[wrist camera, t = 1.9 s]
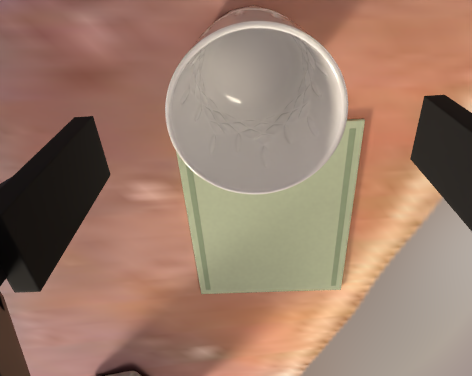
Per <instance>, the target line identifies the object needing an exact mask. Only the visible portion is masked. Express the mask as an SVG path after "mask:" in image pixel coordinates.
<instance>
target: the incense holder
mask: <svg viewBox="0 0 472 376" xmlns="http://www.w3.org/2000/svg"><path fill="white" fill-rule="evenodd" d="M107 376H141V375H140V374H139V373H138V372H135V371H127V372H122V373H118V374H112V375H107Z"/></svg>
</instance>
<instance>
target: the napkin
mask: <svg viewBox="0 0 472 376" xmlns="http://www.w3.org/2000/svg"><path fill="white" fill-rule="evenodd" d="M364 123H365V120H364V119H348V120H347V122H346V126H345V130H344V133H343V136H342V138H341V140H340V143H339V145H338V146H337V148H336V150H335V151H334V153H333V154H332V156H331V157H330V158H329V160H328V161H327V162H326V163H325V164H324V165H323V166H322V167H321V168H320V169H319V170H318V171H317V172H316V173H315V174H313V175H312V176H311V177H309V178H308V179H306V180H304V181H303V182H301V183H299V184H297V185H295V186H293V187H290V188H288V189H285V190H282V191H278V192H274V193H268V194H241V193H235V192H231V191H227V190H224V189H221V188H219V187H216V186H214V185H212V184H210V183H209V182H207V181H205V180H204V179H202V178H201V177H199V176H198V175H197V174H196V173H194V172H193V171H192V170H191V169H190V168H189V167H188V166H187V165H186V164H185V163H184V161H183V160H182V159H181V157H180V156H179V154H178V153H177V158H178V164H179V169H180V175H181V181H182V186H183V192H184V198H185V204H186V209H187V215H188V221H189V226H190V232H191V238H192V244H193V249H194V255H195V261H196V266H197V272H198V278H199V284H200V289H201V294H218V293H249V292H281V291H312V290H341V285H342V278H343V271H344V264H345V257H346V250H347V243H348V236H349V229H350V221H351V214H352V207H353V200H354V193H355V186H356V179H357V172H358V165H359V158H360V151H361V144H362V137H363V130H364ZM176 152H177V151H176Z"/></svg>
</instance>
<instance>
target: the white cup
mask: <svg viewBox="0 0 472 376" xmlns="http://www.w3.org/2000/svg"><path fill="white" fill-rule="evenodd" d="M165 114H166V123H167V128H168V132H169V135H170V138H171V141H172V143H173V145H174V147H175V149H176V151H177V153H178V154H179V156H180V157H181V159H182V160H183V161H184V163H185V164H186V165H187V166H188V167H189V168H190V169H191V170H192V171H193V172H194V173H196V174H197V175H198V176H199V177H201V178H202V179H204V180H205V181H207V182H209V183H210V184H212V185H214V186H216V187H219V188H221V189H224V190H227V191H231V192H235V193H241V194H268V193H274V192H278V191H282V190H285V189H288V188H290V187H293V186H295V185H297V184H299V183H301V182H303V181H304V180H306V179H308V178H309V177H311V176H312V175H313V174H315V173H316V172H317V171H318V170H319V169H320V168H321V167H322V166H323V165H324V164H325V163H326V162H327V161H328V160H329V158H330V157H331V156H332V154H333V153H334V151H335V150H336V148H337V146H338V145H339V143H340V140H341V138H342V136H343V133H344V130H345V126H346V122H347V116H348V95H347V89H346V85H345V81H344V78H343V76H342V73H341V71H340V69H339V67H338V65H337V63H336V62H335V60H334V59H333V57H332V56H331V55H330V53H329V52H328V51H327V50H326V49H325V48H324V47H323V46H322V45H321V44H320V43H319V42H318V41H317V40H315V39H314V38H313V37H311V36H310V35H309V34H308V33H307V32H305V31H304V30H303V29H302V28H301V27H299V26H298V25H297V24H296V23H294V22H293V21H291V20H290V19H288V18H287V17H285V16H284V15H281V14H279V13H278V12H276V11H272V10H269V9H265V8H261V7H258V6H254V5H253V6H249V7H245V8H240V9H236V10H231V11H229V12H228V13H227V14H225V15H224V16H223V17H221V18H220V19H218V20H217V21H215V22H214V23H213V24H212V25H211V26H210V27H209V28H208V29H207V30H206V31H205V32H204V33H203V34H202V35H201V36H200V37H199V39H198V40H197V41H196V43H195V44H194V45H193V46H192V48H191V49H190V50H189V51H188V53H187V54H186V55H185V56H184V58H183V59H182V60H181V62H180V63H179V65H178V66H177V68H176V70H175V72H174V74H173V76H172V79H171V81H170V84H169V87H168V91H167V96H166V106H165Z"/></svg>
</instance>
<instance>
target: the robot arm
mask: <svg viewBox="0 0 472 376" xmlns="http://www.w3.org/2000/svg"><path fill="white" fill-rule="evenodd" d="M411 160H412V161H413V163H414V164H415V165H416V166H417V167H418V168H419V170H420V171H421V172H422V173H423V174H424V175H425V177H426V178H427V179H428V180H429V181H430V183H431V184H432V185H433V186H434V187H435V188H436V190H437V191H438V192H439V193H440V194H441V196H442V197H443V198H444V199H445V200H446V201H447V203H448V204H449V205H450V206H451V207H452V209H453V210H454V211H455V212H456V213H457V214H458V215H459V217H460V218H461V219H462V220H463V221H464V223H465V224H466V225H467V226H468V227H469V229H470V230H471V231H472V113H471V112H469V111H468V110H466V109H465V108H463V107H462V106H460V105H459V104H457V103H456V102H454V101H453V100H451V99H450V98H449V97H447V96H446V95H435V96H424V100H423V105H422V109H421V114H420V118H419V123H418V127H417V132H416V136H415V141H414V145H413V150H412V154H411ZM109 176H110V171H109V168H108V165H107V161H106V158H105V155H104V151H103V148H102V145H101V141H100V138H99V135H98V131H97V128H96V124H95V121H94V118H93V116H89V117H74V118H73V119H72V120H71V121H70V122H69V123H68V124H67V125H66V126H65V127H64V128H63V129H62V130H61V131H60V132H59V133H58V134H57V135H56V136H55V137H54V138H52V139H51V140H50V141H49V142H48V143H47V144H46V145H45V146H44V147H43V148H42V149H41V150H40V151H39V152H38V153H37V154H36V155H35V156H34V157H33V158H32V159H31V160H30V161H28V162H27V163H26V164H25V165H24V166H23V167H22V168H21V169H20V170H19V171H18V172H17V173H16V174H15V175H14V176H13V177H11V178H9V179H8V180H6V181H4V182H2V183H1V184H0V286H1V284H2V283H3V282H4V280H5V279H6V278H7V280H8V282H9V284H10V285H11V287H12V289H13V290H14V292H40V291H41V290H42V288H43V286H44V285H45V283H46V281H47V280H48V278H49V276H50V275H51V273H52V271H53V270H54V268H55V266H56V265H57V263H58V261H59V260H60V258H61V256H62V255H63V253H64V251H65V250H66V248H67V246H68V245H69V243H70V241H71V240H72V238H73V236H74V235H75V233H76V231H77V230H78V228H79V226H80V225H81V223H82V221H83V220H84V218H85V216H86V215H87V213H88V211H89V210H90V208H91V206H92V205H93V203H94V201H95V200H96V198H97V196H98V195H99V193H100V191H101V190H102V188H103V186H104V185H105V183H106V181H107V180H108V178H109ZM0 376H30V373H29V370H28V367H27V364H26V361H25V358H24V355H23V352H22V349H21V347H20V344H19V341H18V338H17V335H16V332H15V329H14V326H13V323H12V320H11V317H10V314H9V311H8V308H7V306H6V303H5V300H4V297H3V295H2V294H1V292H0Z"/></svg>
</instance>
